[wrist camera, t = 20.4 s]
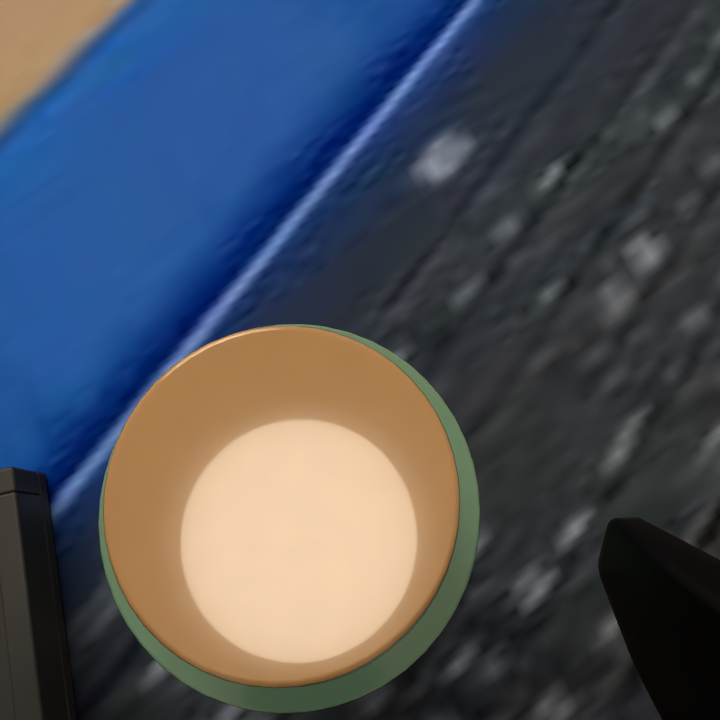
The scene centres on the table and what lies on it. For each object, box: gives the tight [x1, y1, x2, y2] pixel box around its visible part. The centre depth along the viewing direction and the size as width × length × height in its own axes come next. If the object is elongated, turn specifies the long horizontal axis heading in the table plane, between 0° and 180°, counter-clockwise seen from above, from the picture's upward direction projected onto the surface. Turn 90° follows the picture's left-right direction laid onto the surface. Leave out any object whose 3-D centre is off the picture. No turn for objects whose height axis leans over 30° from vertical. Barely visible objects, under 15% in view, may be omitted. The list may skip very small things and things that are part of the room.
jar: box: [98, 324, 480, 713], centre depth 12 cm, size 5×5×12 cm
